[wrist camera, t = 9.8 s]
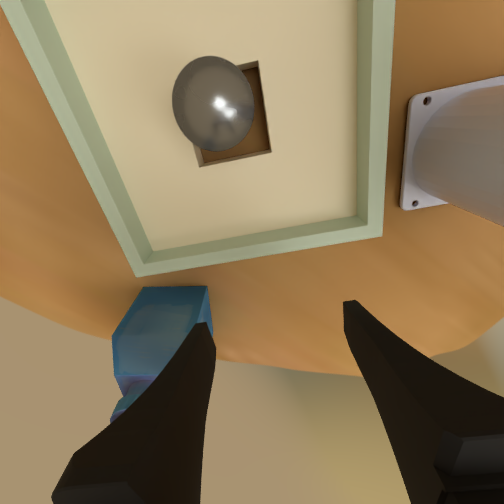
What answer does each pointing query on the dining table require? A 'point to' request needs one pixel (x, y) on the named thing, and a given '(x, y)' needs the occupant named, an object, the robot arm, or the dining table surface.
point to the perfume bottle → (154, 336)
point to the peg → (213, 103)
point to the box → (189, 155)
